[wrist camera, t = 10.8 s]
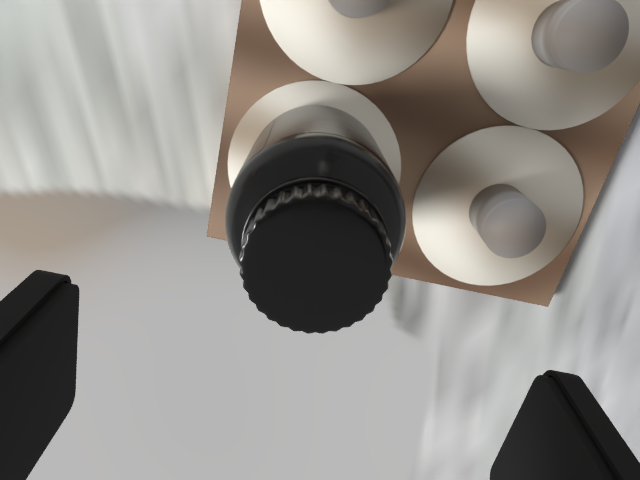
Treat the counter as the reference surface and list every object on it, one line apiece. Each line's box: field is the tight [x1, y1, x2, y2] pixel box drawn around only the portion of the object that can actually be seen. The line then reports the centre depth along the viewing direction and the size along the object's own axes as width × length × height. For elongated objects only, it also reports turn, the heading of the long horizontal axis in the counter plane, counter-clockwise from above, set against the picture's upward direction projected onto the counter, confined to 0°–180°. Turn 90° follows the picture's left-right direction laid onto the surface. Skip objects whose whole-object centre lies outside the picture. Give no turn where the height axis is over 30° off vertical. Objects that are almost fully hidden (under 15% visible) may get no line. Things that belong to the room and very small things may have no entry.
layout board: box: [207, 0, 640, 307], centre depth 25 cm, size 19×20×4 cm
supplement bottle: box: [225, 105, 406, 333], centre depth 21 cm, size 7×7×12 cm
